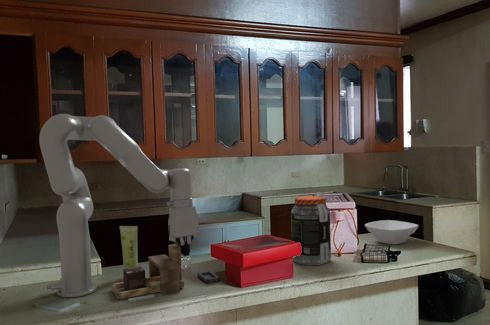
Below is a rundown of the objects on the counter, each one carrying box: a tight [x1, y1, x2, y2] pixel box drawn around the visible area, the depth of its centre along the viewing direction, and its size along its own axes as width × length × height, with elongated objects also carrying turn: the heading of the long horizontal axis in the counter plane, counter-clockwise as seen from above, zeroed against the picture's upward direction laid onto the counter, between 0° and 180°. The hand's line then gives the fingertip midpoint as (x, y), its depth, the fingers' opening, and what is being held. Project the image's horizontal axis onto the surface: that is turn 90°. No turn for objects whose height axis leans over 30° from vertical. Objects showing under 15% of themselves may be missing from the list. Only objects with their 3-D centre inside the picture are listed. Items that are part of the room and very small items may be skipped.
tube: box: [119, 225, 139, 269], centre depth 157 cm, size 6×5×20 cm
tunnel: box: [148, 254, 181, 296], centre depth 146 cm, size 6×16×9 cm, turn 26°
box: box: [122, 265, 146, 291], centre depth 143 cm, size 6×6×7 cm
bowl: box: [364, 219, 419, 245], centre depth 199 cm, size 21×21×9 cm
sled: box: [111, 243, 185, 300], centre depth 144 cm, size 22×11×13 cm, turn 116°
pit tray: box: [197, 270, 221, 284], centre depth 154 cm, size 5×9×1 cm, turn 26°
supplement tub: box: [290, 195, 332, 266], centre depth 172 cm, size 16×16×26 cm
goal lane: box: [127, 293, 155, 303], centre depth 142 cm, size 8×18×1 cm, turn 26°
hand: (185, 255), depth 150 cm, fingers closed
